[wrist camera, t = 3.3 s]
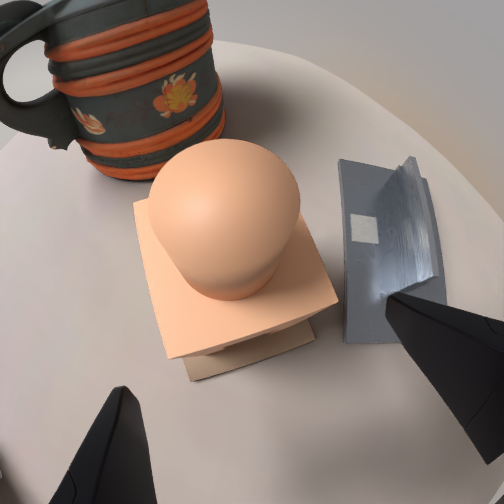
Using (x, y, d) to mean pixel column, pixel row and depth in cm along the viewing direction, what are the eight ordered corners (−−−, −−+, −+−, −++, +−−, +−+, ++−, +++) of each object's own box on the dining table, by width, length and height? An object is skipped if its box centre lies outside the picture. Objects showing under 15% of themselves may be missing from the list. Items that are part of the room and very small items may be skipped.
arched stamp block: (288, 327, 19) (388, 273, 6) (204, 355, 18) (128, 361, 5) (259, 249, 20) (289, 97, 8) (179, 273, 19) (99, 145, 7)
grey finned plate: (443, 339, 19) (483, 332, 14) (343, 343, 19) (374, 338, 14) (423, 181, 24) (448, 153, 20) (337, 162, 24) (355, 125, 20)
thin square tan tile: (313, 340, 19) (315, 339, 18) (191, 380, 17) (190, 381, 17) (270, 228, 22) (271, 225, 21) (157, 262, 20) (155, 260, 20)
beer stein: (98, 251, 20) (-70, 58, 2) (42, 166, 23) (-43, 35, 4) (255, 121, 26) (273, -74, 7) (169, 73, 29) (149, -65, 10)
